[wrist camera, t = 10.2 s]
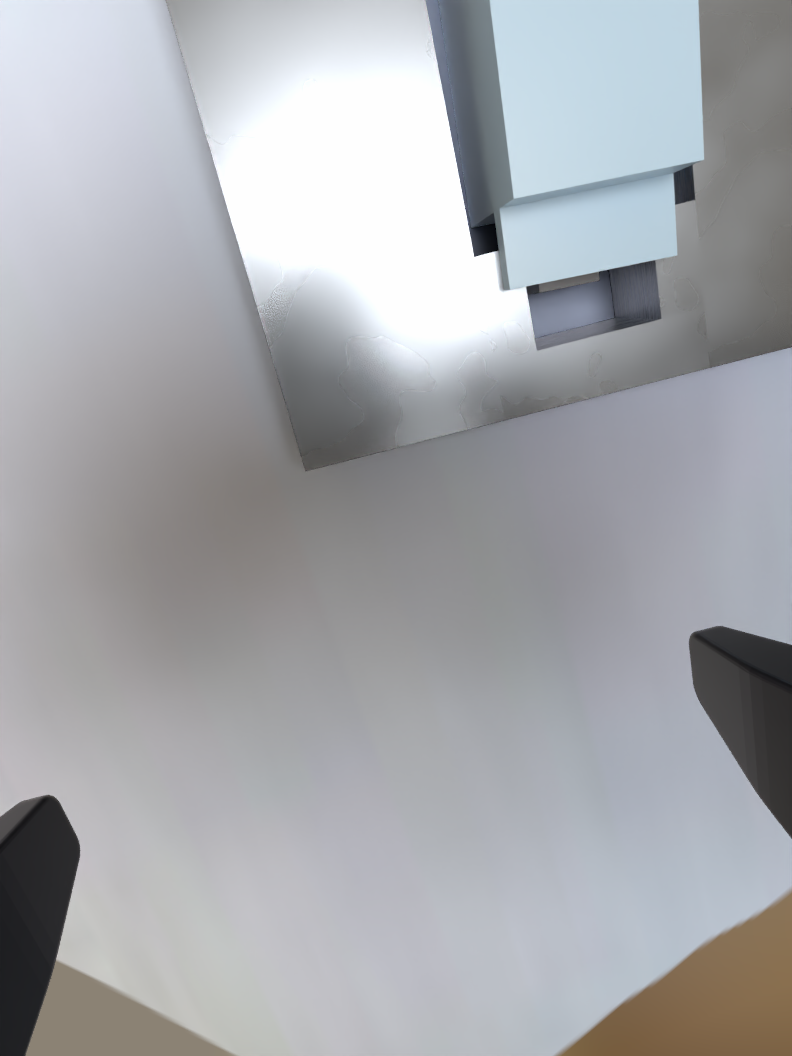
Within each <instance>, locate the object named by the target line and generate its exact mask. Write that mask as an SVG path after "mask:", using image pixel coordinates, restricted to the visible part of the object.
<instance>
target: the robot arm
mask: <svg viewBox="0 0 792 1056" xmlns="http://www.w3.org/2000/svg"><path fill="white" fill-rule="evenodd" d="M689 649H690V658H691V667H692V676H693V685H694V689H695V692H696V695H697V697H698V699H699V701H700V703H701V705H702V706H703V708H704V710H705V711H706V713H707V714H708V716H709V718H710V719H711V721H712V722H713V724H714V726H715V727H716V729H717V730H718V732H719V734H720V735H721V737H722V738H723V740H724V742H725V743H726V745H727V746H728V748H729V750H730V751H731V753H732V755H733V756H734V758H735V759H736V761H737V763H738V764H739V766H740V767H741V769H742V771H743V772H744V774H745V775H746V777H747V779H748V780H749V782H750V783H751V785H752V786H753V788H754V789H755V791H756V792H757V794H758V795H759V797H760V798H761V799H762V801H763V802H764V803H765V805H766V806H767V807H768V809H769V810H770V811H771V813H772V814H773V815H774V817H775V818H776V819H777V820H778V822H779V823H780V824H781V825H782V827H783V828H784V829H785V831H786V832H787V833H788V834H789V836H790V837H791V838H792V645H790V644H786V643H782V642H779V641H775V640H771V639H768V638H764V637H760V636H757V635H753V634H749V633H745V632H742V631H738V630H734V629H731V628H727V627H723V626H716V627H712V628H708V629H704V630H700V631H696V632H694V633H692V634H691V636H690V639H689ZM79 858H80V845H79V841H78V838H77V836H76V834H75V832H74V830H73V828H72V826H71V824H70V822H69V820H68V818H67V816H66V814H65V812H64V810H63V808H62V806H61V804H60V803H59V801H58V800H57V799H56V798H55V797H54V796H51V795H45V796H41V797H37V798H33V799H29V800H25V801H22V802H20V803H18V804H17V805H15V806H14V807H13V808H11V809H10V810H9V811H7V812H6V813H5V814H4V815H2V816H1V817H0V1056H25V1055H26V1052H27V1049H28V1046H29V1043H30V1040H31V1037H32V1034H33V1031H34V1028H35V1025H36V1022H37V1019H38V1016H39V1013H40V1009H41V1007H42V1004H43V1001H44V998H45V995H46V992H47V989H48V985H49V982H50V979H51V976H52V972H53V969H54V965H55V961H56V957H57V953H58V949H59V945H60V941H61V936H62V932H63V928H64V923H65V919H66V915H67V911H68V906H69V902H70V898H71V893H72V889H73V885H74V880H75V876H76V872H77V867H78V863H79Z"/></svg>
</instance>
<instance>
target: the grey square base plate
mask: <svg viewBox="0 0 792 1056" xmlns="http://www.w3.org/2000/svg"><path fill="white" fill-rule="evenodd" d="M166 3H167V6H168V10H169V13H170V17H171V20H172V23H173V27H174V30H175V33H176V37H177V40H178V43H179V47H180V50H181V54H182V57H183V60H184V64H185V67H186V70H187V74H188V77H189V80H190V84H191V87H192V91H193V94H194V97H195V101H196V104H197V107H198V111H199V114H200V117H201V121H202V124H203V128H204V131H205V134H206V138H207V141H208V144H209V148H210V151H211V154H212V158H213V161H214V165H215V168H216V171H217V175H218V178H219V181H220V185H221V188H222V191H223V195H224V198H225V202H226V205H227V208H228V212H229V215H230V218H231V222H232V225H233V228H234V232H235V235H236V239H237V242H238V245H239V249H240V252H241V255H242V259H243V262H244V265H245V269H246V272H247V276H248V279H249V282H250V286H251V289H252V292H253V296H254V299H255V302H256V306H257V309H258V313H259V316H260V319H261V323H262V326H263V329H264V333H265V336H266V339H267V343H268V346H269V350H270V353H271V356H272V360H273V363H274V366H275V370H276V373H277V376H278V380H279V383H280V387H281V390H282V393H283V397H284V400H285V403H286V407H287V410H288V413H289V417H290V420H291V424H292V427H293V430H294V434H295V437H296V440H297V444H298V447H299V450H300V454H301V457H302V461H303V464H304V467H305V471H308V470H312V469H316V468H320V467H324V466H328V465H332V464H336V463H340V462H344V461H348V460H351V459H355V458H359V457H363V456H367V455H371V454H375V453H379V452H383V451H387V450H391V449H394V448H398V447H402V446H406V445H410V444H414V443H418V442H422V441H426V440H430V439H434V438H437V437H441V436H445V435H449V434H453V433H457V432H461V431H465V430H469V429H473V428H477V427H480V426H484V425H488V424H492V423H496V422H500V421H504V420H508V419H512V418H516V417H520V416H524V415H527V414H531V413H535V412H539V411H543V410H547V409H551V408H555V407H559V406H563V405H567V404H570V403H574V402H578V401H582V400H586V399H590V398H594V397H598V396H602V395H606V394H610V393H613V392H617V391H621V390H625V389H629V388H633V387H637V386H641V385H645V384H649V383H653V382H656V381H660V380H664V379H668V378H672V377H676V376H680V375H684V374H688V373H692V372H696V371H699V370H703V369H707V368H711V367H715V366H719V365H723V364H727V363H731V362H735V361H739V360H742V359H746V358H750V357H754V356H758V355H762V354H766V353H770V352H774V351H778V350H782V349H785V348H789V347H792V0H698V4H699V31H700V59H701V86H702V114H703V141H704V160H703V161H700V162H698V163H695V164H693V165H691V166H688V167H686V168H684V169H681V170H679V171H677V172H674V173H673V175H674V195H675V215H676V235H677V256H672V257H667V258H662V259H657V260H653V261H648V262H643V263H638V264H633V265H628V266H623V267H618V268H614V269H609V273H610V281H611V289H612V297H613V305H614V312H615V318H613V319H609V320H605V321H601V322H597V323H593V324H589V325H586V326H582V327H578V328H574V329H570V330H566V331H562V332H558V333H554V334H551V335H547V336H543V337H539V338H535V337H534V331H533V325H532V319H531V313H530V307H529V301H528V296H527V290H526V287H521V288H516V289H511V290H505V291H504V285H503V277H502V270H501V262H500V254H499V251H495V252H491V253H488V254H484V255H480V256H476V257H474V254H473V248H472V243H471V238H470V233H469V227H468V222H467V217H466V211H465V206H464V201H463V196H462V190H461V185H460V180H459V175H458V169H457V164H456V159H455V153H454V148H453V143H452V138H451V132H450V127H449V122H448V116H447V111H446V106H445V101H444V95H443V90H442V85H441V80H440V74H439V69H438V64H437V58H436V53H435V48H434V43H433V37H432V32H431V27H430V22H429V16H428V11H427V6H426V0H166Z"/></svg>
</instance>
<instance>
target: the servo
mask: <svg viewBox="0 0 792 1056" xmlns="http://www.w3.org/2000/svg"><path fill="white" fill-rule="evenodd" d="M438 2H439V9H440V16H441V23H442V30H443V37H444V44H445V51H446V58H447V65H448V72H449V79H450V86H451V93H452V100H453V107H454V114H455V121H456V128H457V135H458V142H459V149H460V156H461V163H462V170H463V177H464V184H465V191H466V198H467V205H468V212H469V219H470V226H471V228H473V227H478V226H483V225H488V224H493V223H495V224H496V232H497V240H498V247H499V254H500V262H501V270H502V277H503V285H504V291H505V290H511V289H516V288H521V287H526V290H527V294H532V293H541V292H546V291H551V290H556V289H560V288H565V287H570V286H575V285H580V284H585V283H590V282H594V281H599V271H604V270H609V269H614V268H618V267H623V266H628V265H633V264H638V263H643V262H648V261H653V260H657V259H662V258H667V257H672V256H677V235H676V215H675V195H674V175H673V173H674V172H677V171H679V170H681V169H684V168H686V167H688V166H691V165H693V164H695V163H698V162H700V161H703V160H704V141H703V114H702V86H701V59H700V31H699V4H698V0H438Z"/></svg>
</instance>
